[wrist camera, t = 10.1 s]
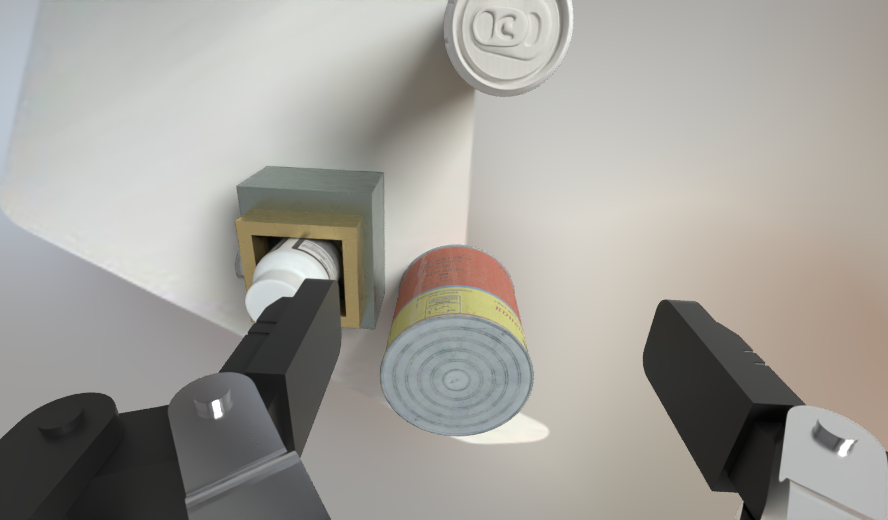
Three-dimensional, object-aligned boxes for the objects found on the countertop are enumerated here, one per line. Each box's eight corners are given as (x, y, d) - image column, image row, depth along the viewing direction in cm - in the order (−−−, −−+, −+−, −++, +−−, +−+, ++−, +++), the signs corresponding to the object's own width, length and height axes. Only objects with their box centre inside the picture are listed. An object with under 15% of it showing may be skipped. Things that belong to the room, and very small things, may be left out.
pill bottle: (300, 279, 39) (250, 346, 30) (279, 222, 37) (219, 275, 28) (359, 270, 38) (326, 336, 29) (342, 212, 36) (300, 263, 27)
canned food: (482, 359, 47) (490, 453, 36) (382, 320, 45) (358, 407, 34) (535, 272, 42) (563, 351, 31) (426, 225, 40) (415, 292, 30)
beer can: (523, 80, 35) (565, 104, 21) (445, 74, 35) (438, 94, 21) (535, -10, 32) (593, -49, 19) (451, -17, 32) (448, -60, 19)
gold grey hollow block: (244, 164, 38) (191, 195, 31) (383, 172, 38) (365, 204, 31) (262, 286, 44) (220, 338, 36) (384, 293, 43) (369, 346, 36)
